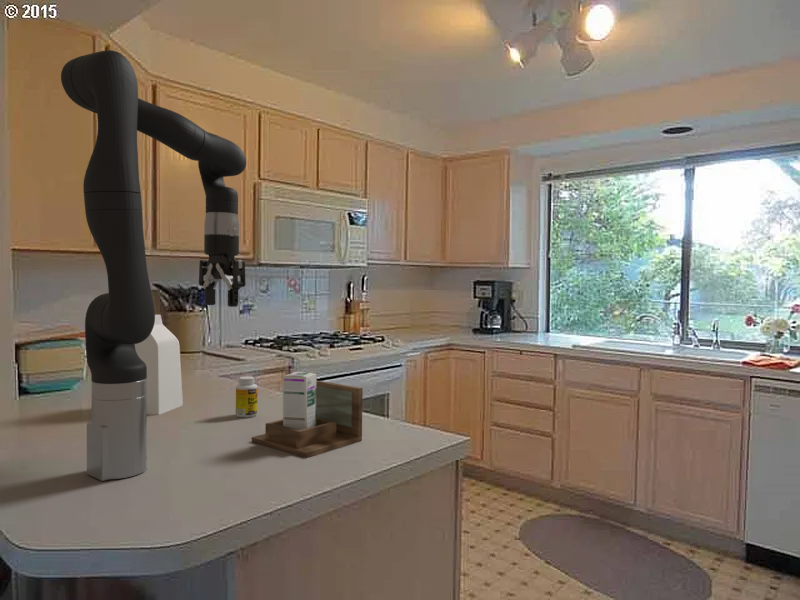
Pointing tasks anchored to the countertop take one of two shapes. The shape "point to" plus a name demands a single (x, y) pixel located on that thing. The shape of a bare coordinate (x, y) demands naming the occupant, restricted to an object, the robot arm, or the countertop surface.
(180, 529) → the countertop surface
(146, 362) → the milk
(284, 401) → the syrup box
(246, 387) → the supplement bottle
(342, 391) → the display stand
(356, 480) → the countertop surface
